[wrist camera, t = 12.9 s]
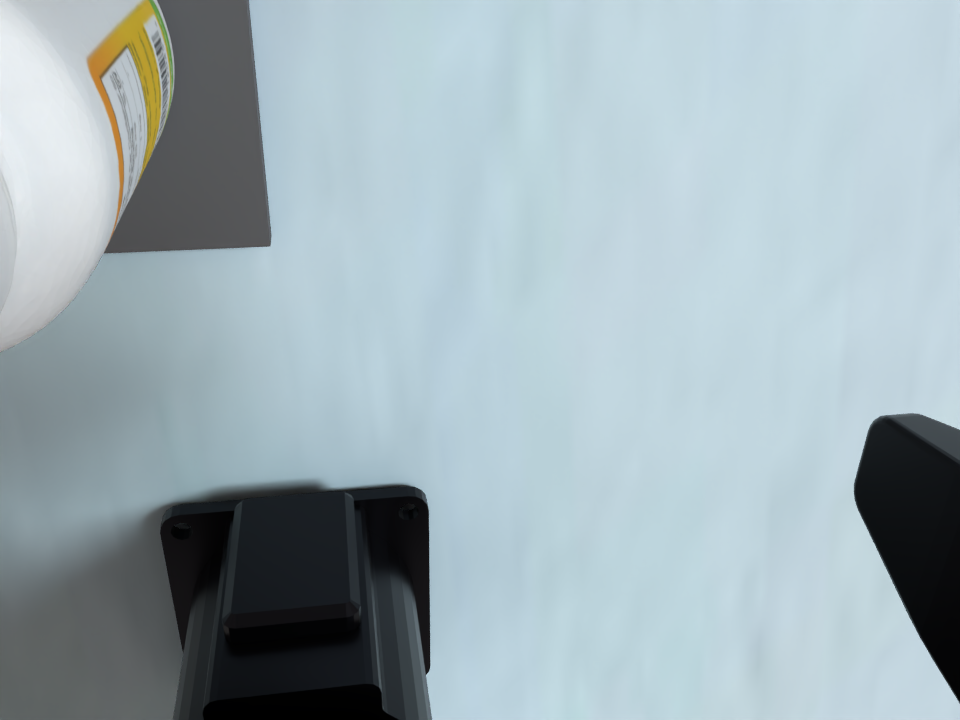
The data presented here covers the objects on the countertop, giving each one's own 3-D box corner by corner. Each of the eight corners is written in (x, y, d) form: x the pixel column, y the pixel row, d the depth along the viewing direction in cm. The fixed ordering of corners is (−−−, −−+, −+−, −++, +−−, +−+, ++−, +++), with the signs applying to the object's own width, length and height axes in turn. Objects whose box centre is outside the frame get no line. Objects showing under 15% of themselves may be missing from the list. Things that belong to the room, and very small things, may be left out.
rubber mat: (271, 236, 20) (270, 246, 19) (-136, 251, 18) (-149, 263, 18) (228, -203, 16) (226, -205, 15) (-289, -218, 15) (-312, -221, 14)
